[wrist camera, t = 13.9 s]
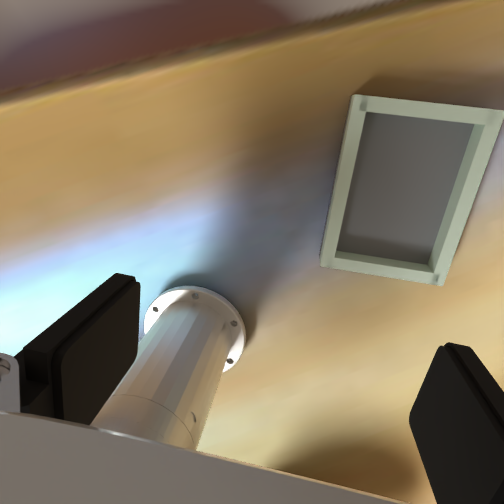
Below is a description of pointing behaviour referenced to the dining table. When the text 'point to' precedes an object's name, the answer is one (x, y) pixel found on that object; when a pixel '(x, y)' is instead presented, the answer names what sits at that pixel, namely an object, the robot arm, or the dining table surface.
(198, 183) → the dining table surface
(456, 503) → the robot arm
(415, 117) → the serving tray
